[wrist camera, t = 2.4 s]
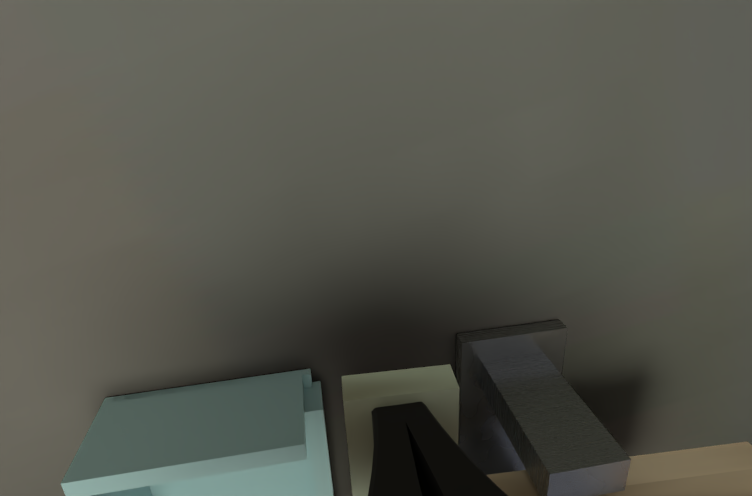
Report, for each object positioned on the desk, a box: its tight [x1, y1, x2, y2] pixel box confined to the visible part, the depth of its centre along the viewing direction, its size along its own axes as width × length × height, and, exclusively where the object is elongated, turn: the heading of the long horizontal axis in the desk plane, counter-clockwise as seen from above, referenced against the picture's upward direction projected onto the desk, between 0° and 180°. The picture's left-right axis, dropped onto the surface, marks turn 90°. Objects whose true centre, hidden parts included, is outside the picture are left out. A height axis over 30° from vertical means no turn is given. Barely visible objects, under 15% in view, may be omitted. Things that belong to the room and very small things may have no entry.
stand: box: [456, 320, 631, 496], centre depth 17 cm, size 10×4×6 cm, turn 3°
